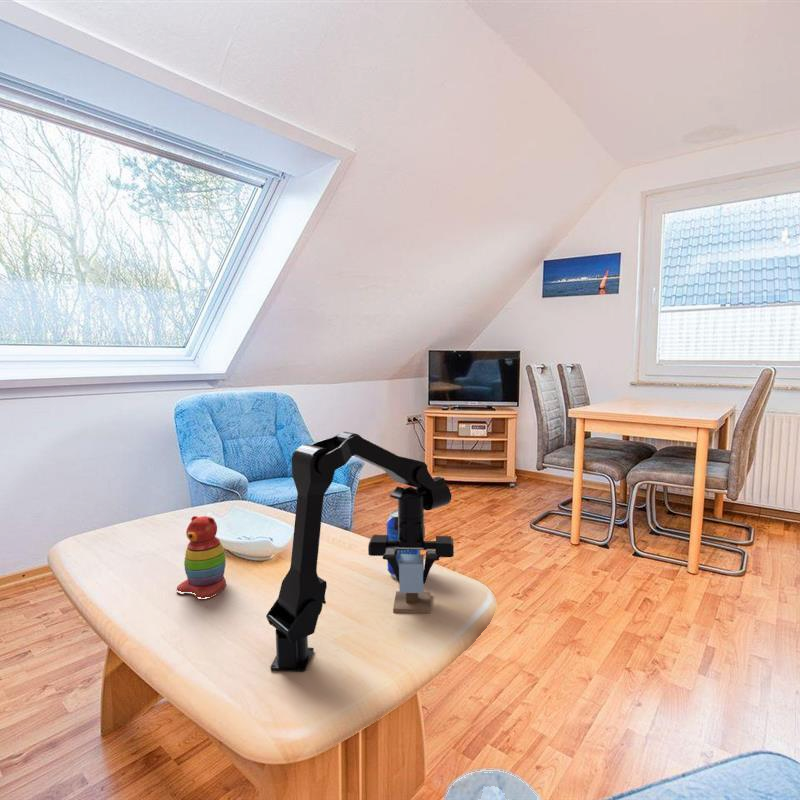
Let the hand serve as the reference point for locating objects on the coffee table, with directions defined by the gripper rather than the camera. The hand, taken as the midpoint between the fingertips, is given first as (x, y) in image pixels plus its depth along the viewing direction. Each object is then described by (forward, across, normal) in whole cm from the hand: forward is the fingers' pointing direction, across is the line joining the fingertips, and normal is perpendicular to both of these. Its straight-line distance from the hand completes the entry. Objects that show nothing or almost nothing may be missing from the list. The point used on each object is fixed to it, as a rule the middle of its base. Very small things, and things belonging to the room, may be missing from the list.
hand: (411, 582), depth 112 cm
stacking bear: (+5, +51, -5) cm, 51 cm away
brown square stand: (+5, 0, 0) cm, 5 cm away
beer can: (+5, +3, -15) cm, 16 cm away
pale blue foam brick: (+1, 0, 0) cm, 1 cm away
